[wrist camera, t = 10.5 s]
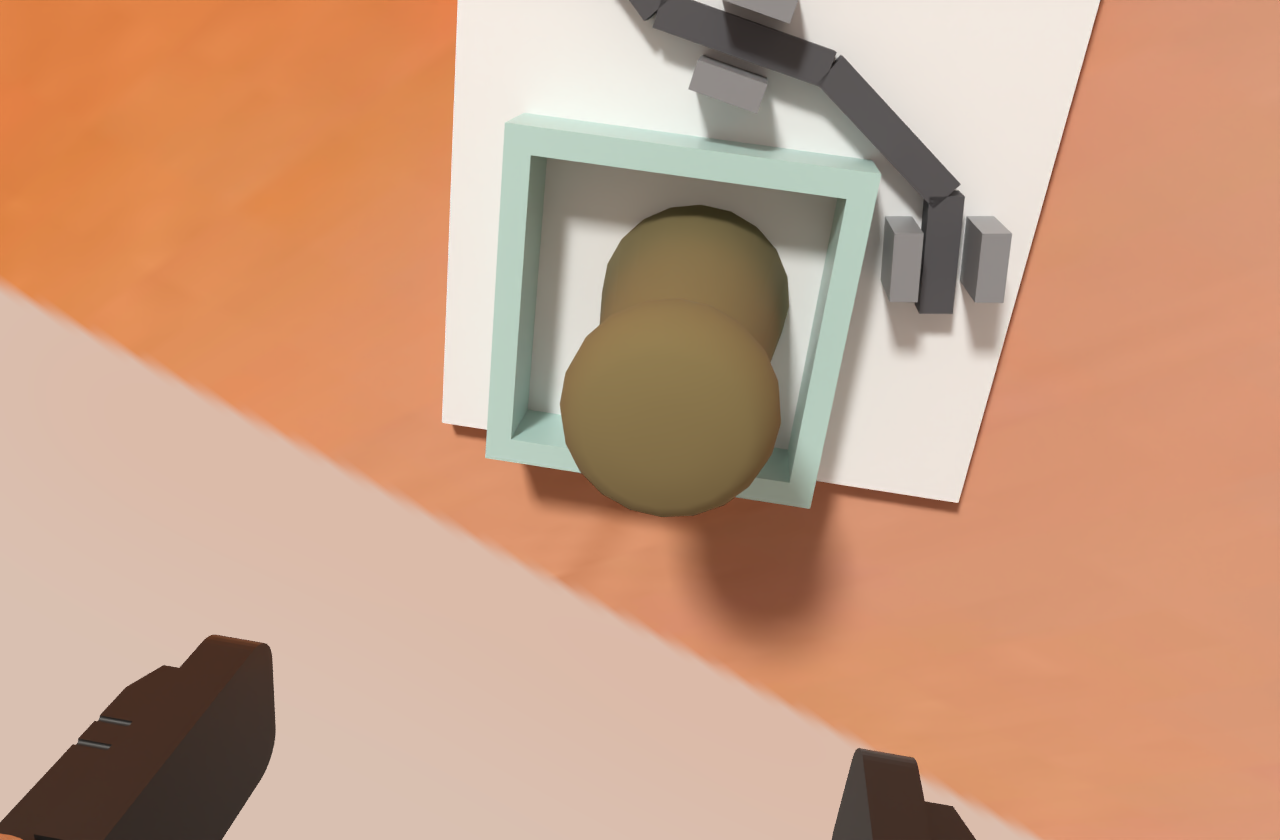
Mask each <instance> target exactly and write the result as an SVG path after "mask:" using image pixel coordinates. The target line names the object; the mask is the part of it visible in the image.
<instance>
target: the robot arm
mask: <svg viewBox="0 0 1280 840" xmlns="http://www.w3.org/2000/svg"><path fill="white" fill-rule="evenodd" d="M274 740H275V708H274V687H273V666H272V654H271V649H270V647H269V646H268V645H267V644H265V643H260V642H255V641H249V640H242V639H237V638H232V637H226V636H220V635H211V636H209V637H207V638H206V639H205V640H204V641H203V642H202V643H201V644H200V645H199V646H198V647H197V649H196V650H195V651H194V652H193V653H192V654H191V655H190V657H189V658H188V659H187V660H186V661H185V662H184V663H183V665H182V666H181V667H180V668H176V667H171V666H165V665H164V666H161V667H160V668H158V669H156V670H155V671H153V672H151V673H149V674H148V675H146V676H144V677H143V678H141V679H139V680H138V681H136V682H134V683H132V684H131V685H129V686H127V687H126V688H125V689H124V690H123V691H122V692H121V693H120V694H119V696H117V698H116V699H115V700H114V701H113V702H112V703H111V704H110V705H109V706H108V707H107V708H106V709H105V710H104V712H103V713H102V714H101V715H100V718H99V720H98V721H94V722H93V723H92V724H91V725H90V727H89V728H88V729H87V730H86V731H85V732H84V733H83V734H82V735H81V736H80V737H79V739H78V743H77V744H76V745H72V746H71V747H70V748H69V749H68V750H67V752H65V753H64V754H63V756H62V757H61V758H60V759H59V760H58V761H57V762H56V763H55V764H54V765H53V767H51V769H50V770H49V771H48V772H47V773H46V774H45V775H44V776H43V777H42V778H41V779H40V780H39V781H38V782H37V784H36V785H35V786H34V787H33V788H32V789H31V790H30V791H29V792H28V793H27V794H26V796H24V798H23V799H22V800H21V801H20V802H19V803H18V804H17V805H16V806H15V807H14V808H13V809H12V810H11V811H10V813H9V814H8V815H7V816H6V817H5V818H4V819H3V820H2V821H1V822H0V840H222V838H223V837H224V835H225V834H226V832H227V831H228V829H229V828H230V826H231V825H232V823H233V821H234V820H235V818H236V817H237V815H238V814H239V812H240V811H241V809H242V808H243V806H244V805H245V803H246V801H247V800H248V798H249V797H250V795H251V794H252V792H253V791H254V789H255V788H256V786H257V785H258V783H259V781H260V780H261V778H262V776H263V775H264V773H265V770H266V768H267V766H268V763H269V761H270V758H271V754H272V751H273V746H274ZM832 840H976V839H975V838H974V836H973V835H972V833H971V832H970V831H969V829H968V828H967V826H966V825H965V823H964V822H963V820H962V819H961V818H960V816H959V815H958V813H957V812H956V810H955V809H954V808H953V806H948V805H942V804H936V803H930V802H925V801H924V796H923V791H922V785H921V780H920V775H919V770H918V765H917V762H916V760H915V759H914V758H912V757H907V756H901V755H895V754H889V753H884V752H878V751H872V750H866V749H861V748H858V749H857V750H856V751H855V753H854V756H853V759H852V763H851V767H850V770H849V774H848V778H847V781H846V785H845V789H844V793H843V797H842V801H841V804H840V808H839V812H838V816H837V820H836V824H835V827H834V831H833V836H832Z"/></svg>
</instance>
